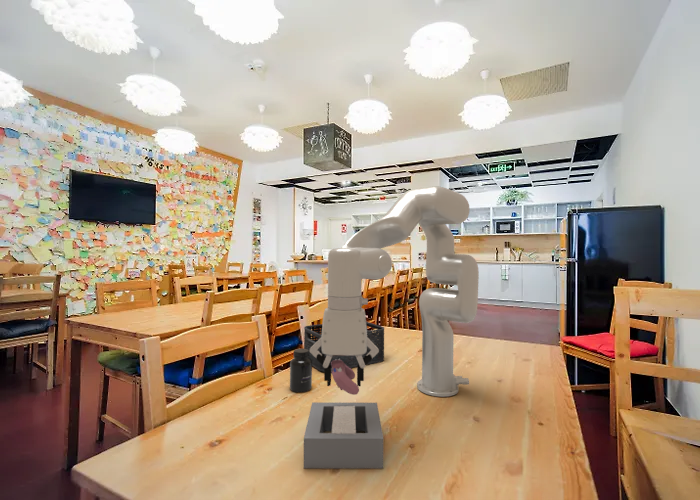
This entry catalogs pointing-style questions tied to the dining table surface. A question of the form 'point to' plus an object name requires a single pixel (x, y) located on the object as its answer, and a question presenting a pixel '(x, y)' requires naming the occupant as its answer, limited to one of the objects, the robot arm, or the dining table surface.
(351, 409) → the beige insert in tray
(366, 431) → the grey square box
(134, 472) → the dining table surface
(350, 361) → the storage bin
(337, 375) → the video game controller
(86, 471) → the dining table surface
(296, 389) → the supplement bottle
